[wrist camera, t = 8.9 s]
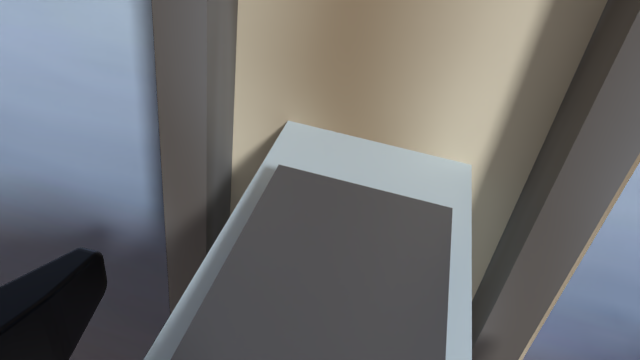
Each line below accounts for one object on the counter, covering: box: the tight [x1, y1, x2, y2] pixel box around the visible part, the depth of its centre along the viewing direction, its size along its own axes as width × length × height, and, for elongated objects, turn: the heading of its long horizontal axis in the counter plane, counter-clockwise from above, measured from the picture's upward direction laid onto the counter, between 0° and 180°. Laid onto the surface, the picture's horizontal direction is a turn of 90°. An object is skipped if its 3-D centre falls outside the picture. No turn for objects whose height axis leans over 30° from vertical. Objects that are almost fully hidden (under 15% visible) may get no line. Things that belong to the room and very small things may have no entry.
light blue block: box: [144, 121, 472, 360], centre depth 9 cm, size 5×4×8 cm
